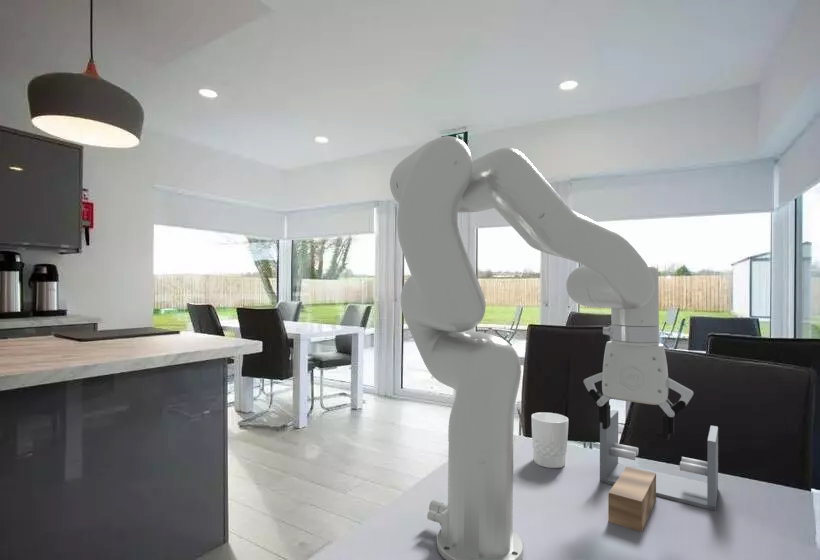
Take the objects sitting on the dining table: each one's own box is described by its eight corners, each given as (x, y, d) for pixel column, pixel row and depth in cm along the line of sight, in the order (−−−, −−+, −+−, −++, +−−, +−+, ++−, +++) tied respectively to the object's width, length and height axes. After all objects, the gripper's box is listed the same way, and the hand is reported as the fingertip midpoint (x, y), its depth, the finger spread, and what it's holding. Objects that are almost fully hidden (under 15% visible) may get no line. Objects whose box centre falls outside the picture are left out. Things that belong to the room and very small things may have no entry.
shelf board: (641, 533, 71) (641, 501, 71) (608, 523, 74) (608, 492, 74) (655, 500, 82) (656, 473, 82) (626, 492, 85) (626, 466, 85)
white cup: (523, 459, 101) (523, 414, 101) (549, 453, 105) (549, 410, 105) (549, 472, 94) (550, 424, 94) (576, 465, 98) (576, 419, 98)
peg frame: (599, 481, 90) (600, 421, 90) (612, 464, 98) (612, 409, 99) (715, 510, 78) (715, 441, 78) (717, 488, 87) (718, 426, 87)
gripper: (578, 334, 81) (578, 428, 81) (690, 341, 71) (691, 449, 71) (589, 330, 87) (590, 418, 87) (694, 336, 77) (695, 436, 77)
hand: (635, 432), depth 79 cm, fingers open, 9 cm apart
